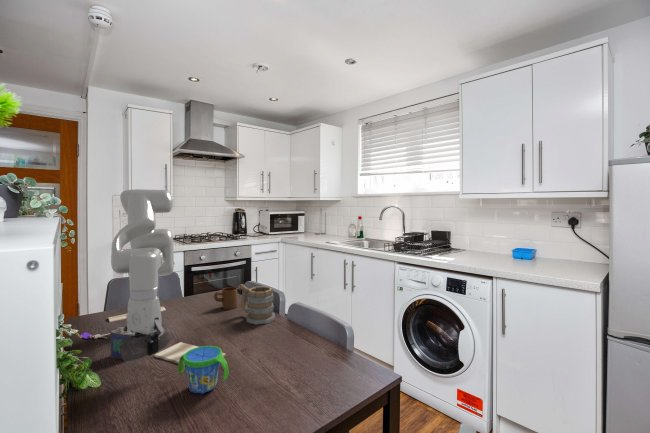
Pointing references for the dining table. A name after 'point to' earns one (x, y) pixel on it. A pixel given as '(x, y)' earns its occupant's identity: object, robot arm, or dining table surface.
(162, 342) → the perforated stone tool
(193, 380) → the snack cup
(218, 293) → the mug
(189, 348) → the birch board
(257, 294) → the tankard
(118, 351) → the flask
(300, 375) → the dining table surface
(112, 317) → the newspaper
